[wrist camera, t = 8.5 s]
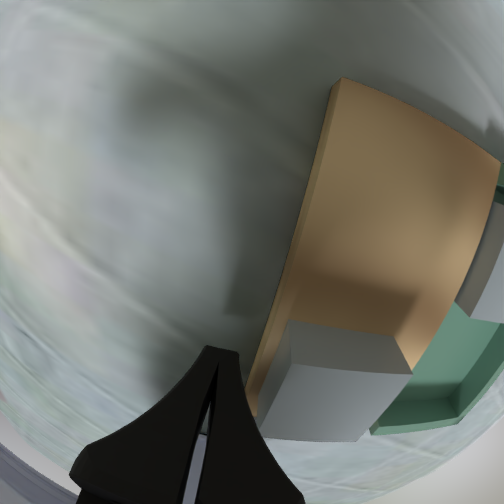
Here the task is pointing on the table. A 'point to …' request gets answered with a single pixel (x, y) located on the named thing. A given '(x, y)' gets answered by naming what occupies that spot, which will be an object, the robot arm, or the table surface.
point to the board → (381, 226)
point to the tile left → (329, 383)
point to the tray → (449, 370)
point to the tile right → (486, 273)
